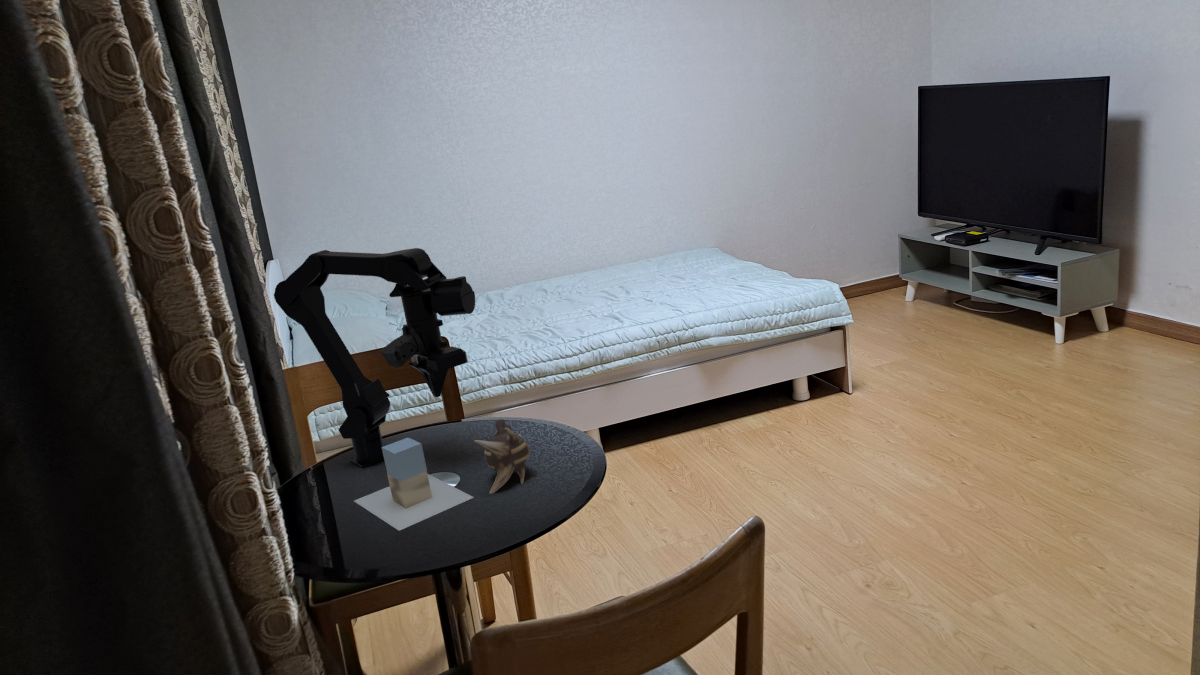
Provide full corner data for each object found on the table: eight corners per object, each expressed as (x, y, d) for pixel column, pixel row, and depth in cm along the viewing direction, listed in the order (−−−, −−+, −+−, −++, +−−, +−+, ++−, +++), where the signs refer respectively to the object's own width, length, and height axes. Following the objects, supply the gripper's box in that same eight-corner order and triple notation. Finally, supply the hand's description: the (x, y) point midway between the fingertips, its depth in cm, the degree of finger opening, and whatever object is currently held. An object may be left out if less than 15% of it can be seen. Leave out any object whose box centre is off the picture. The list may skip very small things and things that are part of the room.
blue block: (387, 474, 144) (381, 447, 143) (413, 463, 147) (407, 437, 146) (400, 481, 140) (394, 453, 139) (427, 470, 143) (421, 443, 142)
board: (354, 502, 148) (353, 500, 147) (424, 474, 156) (424, 472, 156) (399, 532, 134) (399, 530, 134) (474, 499, 142) (473, 497, 142)
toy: (538, 459, 157) (535, 488, 142) (496, 468, 157) (488, 498, 142) (525, 404, 155) (520, 428, 140) (482, 414, 155) (472, 439, 140)
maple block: (393, 500, 145) (387, 474, 144) (418, 490, 148) (413, 464, 147) (406, 508, 141) (400, 481, 140) (432, 497, 144) (426, 470, 143)
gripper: (360, 323, 157) (377, 401, 161) (404, 334, 143) (422, 419, 147) (413, 309, 164) (428, 384, 168) (461, 318, 150) (476, 399, 154)
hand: (437, 396), depth 159 cm, fingers closed
